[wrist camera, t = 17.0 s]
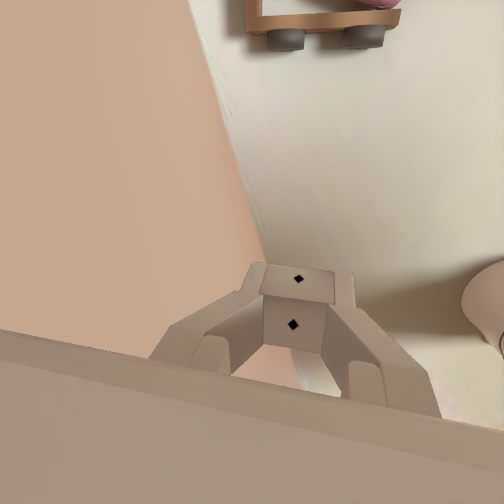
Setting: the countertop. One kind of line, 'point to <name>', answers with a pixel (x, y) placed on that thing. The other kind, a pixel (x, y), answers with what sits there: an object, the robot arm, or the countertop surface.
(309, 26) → the chassis bay
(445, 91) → the countertop surface
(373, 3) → the video game controller
